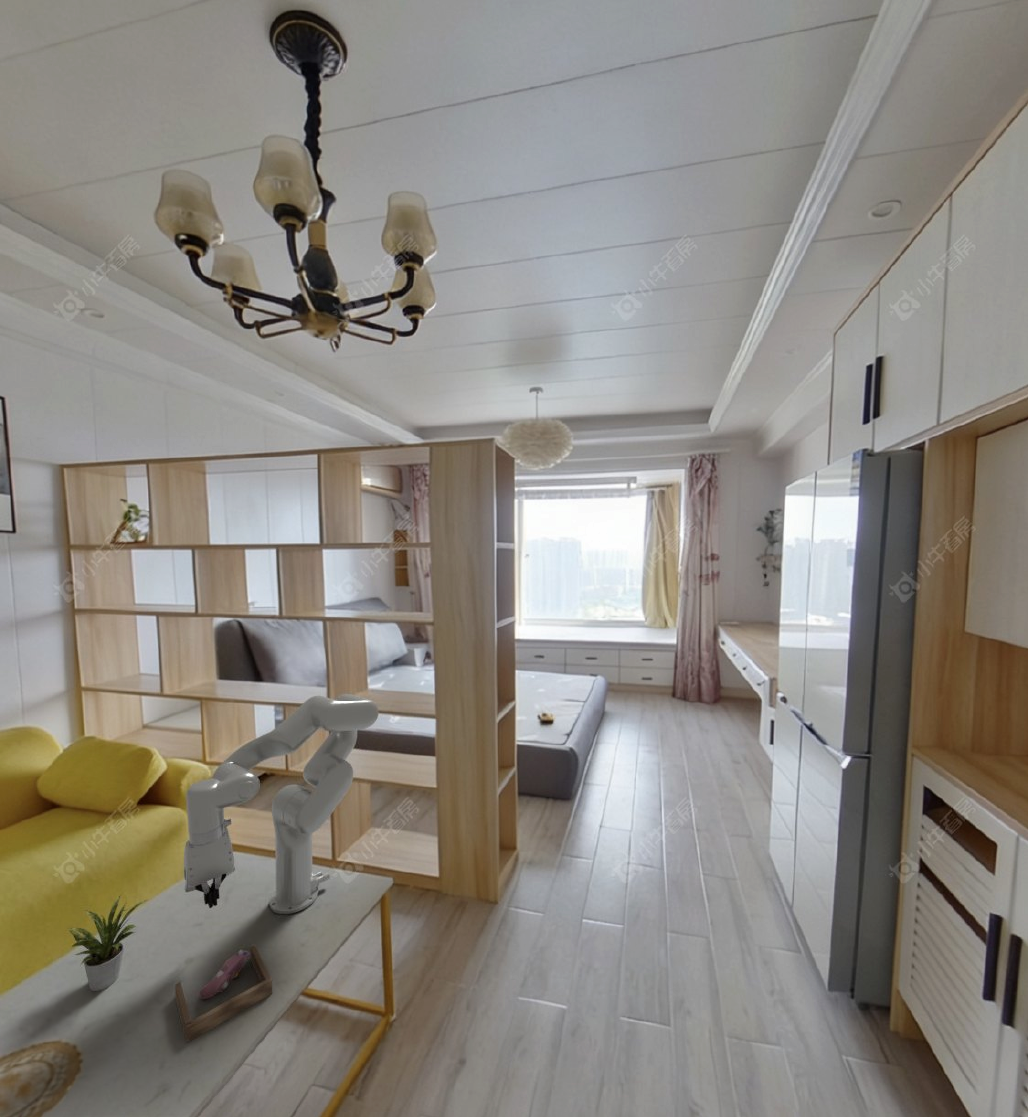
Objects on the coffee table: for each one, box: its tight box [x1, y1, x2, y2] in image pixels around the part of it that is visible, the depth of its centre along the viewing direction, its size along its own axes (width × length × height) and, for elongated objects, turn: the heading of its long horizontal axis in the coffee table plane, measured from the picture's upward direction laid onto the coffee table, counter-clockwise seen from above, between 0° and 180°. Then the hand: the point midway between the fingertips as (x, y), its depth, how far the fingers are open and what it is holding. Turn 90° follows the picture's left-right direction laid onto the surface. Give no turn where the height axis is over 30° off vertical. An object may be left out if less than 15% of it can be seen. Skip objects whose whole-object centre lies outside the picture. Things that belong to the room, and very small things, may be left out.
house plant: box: [68, 894, 148, 992], centre depth 113 cm, size 14×14×16 cm
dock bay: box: [174, 944, 273, 1043], centre depth 108 cm, size 16×14×3 cm
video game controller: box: [199, 949, 250, 1000], centre depth 111 cm, size 10×5×7 cm, turn 167°
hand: (212, 903), depth 121 cm, fingers closed
